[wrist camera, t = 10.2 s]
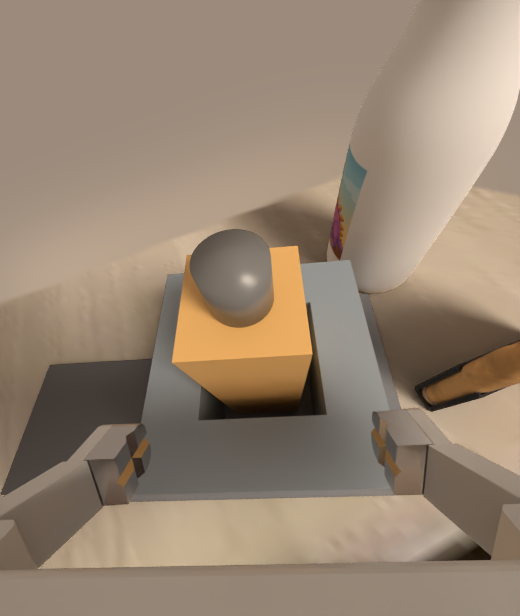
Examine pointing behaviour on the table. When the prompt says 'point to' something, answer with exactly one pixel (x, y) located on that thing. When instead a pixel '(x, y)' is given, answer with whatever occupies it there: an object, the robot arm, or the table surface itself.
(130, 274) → the table surface
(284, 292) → the plug
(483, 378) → the ammunition clip
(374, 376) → the housing
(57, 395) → the mat
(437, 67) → the milk bottle
